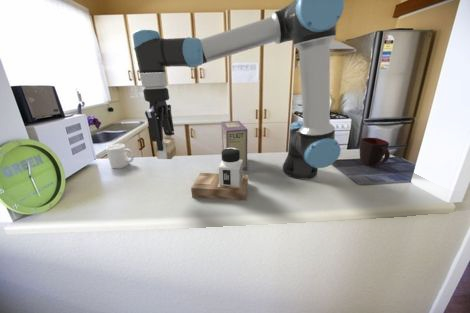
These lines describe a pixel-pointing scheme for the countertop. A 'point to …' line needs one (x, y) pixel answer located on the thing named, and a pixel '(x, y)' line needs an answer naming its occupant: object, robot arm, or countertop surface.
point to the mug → (373, 151)
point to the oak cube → (168, 148)
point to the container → (230, 168)
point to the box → (235, 138)
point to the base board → (218, 188)
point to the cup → (118, 155)
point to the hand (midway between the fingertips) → (167, 155)
